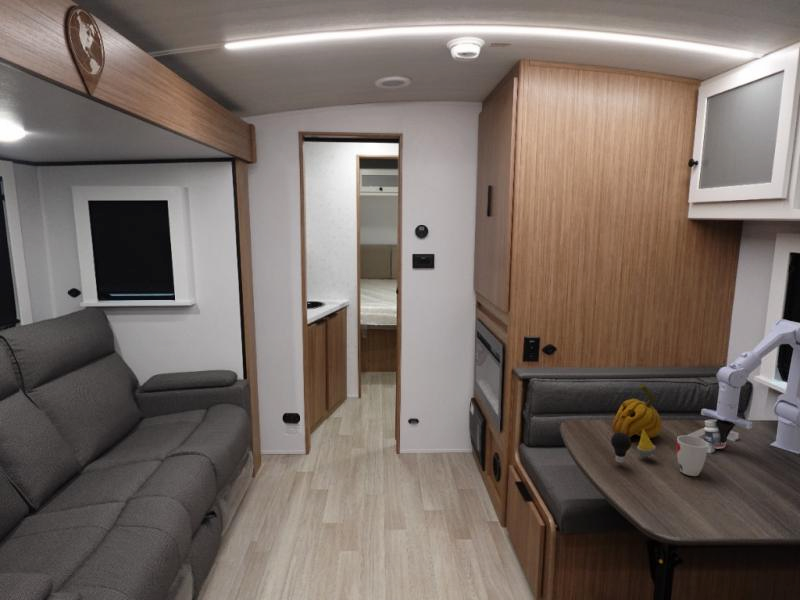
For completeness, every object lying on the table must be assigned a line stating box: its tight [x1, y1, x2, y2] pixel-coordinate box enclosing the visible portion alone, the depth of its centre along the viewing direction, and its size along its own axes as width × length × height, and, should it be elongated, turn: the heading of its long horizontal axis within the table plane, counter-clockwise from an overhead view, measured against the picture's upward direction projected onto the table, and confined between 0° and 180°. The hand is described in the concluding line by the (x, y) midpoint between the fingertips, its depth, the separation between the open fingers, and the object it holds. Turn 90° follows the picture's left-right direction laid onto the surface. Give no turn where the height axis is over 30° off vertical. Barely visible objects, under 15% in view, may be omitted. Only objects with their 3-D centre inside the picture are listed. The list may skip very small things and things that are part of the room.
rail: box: [685, 426, 740, 454], centre depth 168 cm, size 20×9×2 cm, turn 123°
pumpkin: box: [611, 383, 662, 439], centre depth 171 cm, size 14×16×20 cm
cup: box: [676, 435, 708, 477], centre depth 146 cm, size 8×8×10 cm
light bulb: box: [610, 432, 632, 464], centre depth 151 cm, size 6×6×10 cm
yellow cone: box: [636, 429, 657, 459], centre depth 155 cm, size 5×5×10 cm
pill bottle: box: [703, 419, 726, 450], centre depth 163 cm, size 5×5×9 cm
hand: (722, 441), depth 160 cm, fingers closed, pressing on pill bottle
